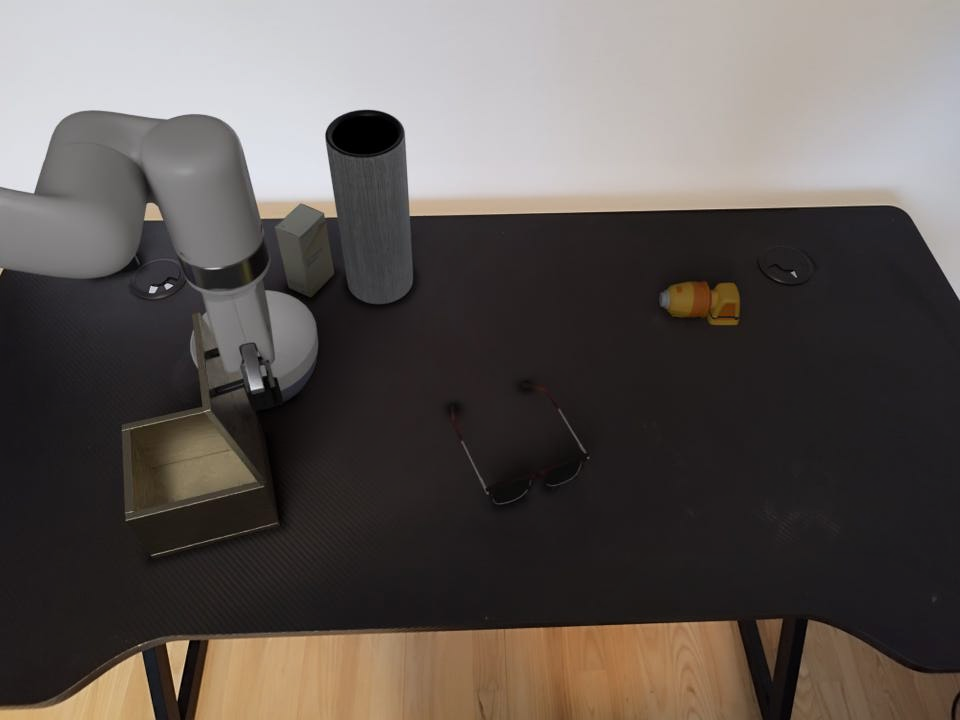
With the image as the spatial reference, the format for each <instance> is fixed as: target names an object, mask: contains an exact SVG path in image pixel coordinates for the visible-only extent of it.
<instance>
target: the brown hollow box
mask: <svg viewBox="0 0 960 720" xmlns="http://www.w3.org/2000/svg"><path fill="white" fill-rule="evenodd" d="M256 411H257V410H256ZM256 411H255V412H256ZM256 418H257V424H258V430H259V436H260V442H261V448H262V455H263V461H264V467H265V473H266V479H267V483H265V484H262V485H260V484H259V483H258V481H257V480H256V479H255V477H254V476H253V475H252V474H251V472H250V471H249V470H248V469H247V467H246V466H245V465H244V463H243V462H242V461H241V460H240V458H239V457H238V456H237V455H236V453H235V452H234V451H233V449H232V448H231V447H230V446H229V444H228V443H227V442H226V441H225V439H224V438H223V437H222V435H221V434H220V433H219V432H218V430H217V429H216V428H215V426H214V425H213V424H212V423H211V421H210V420H209V419H208V418H207V416H206V415H205V414H204V412H203V406H199V407H195V408H190V409H185V410H182V411H177V412H171V413H168V414H164V415H159V416H155V417H150V418H145V419H141V420H136V421H131V422H127V423H123V424H121V443H122V444H121V445H122V470H123V497H124V498H123V499H124V516H125V517H124V518H125V522H126V523H127V525H128V526H129V528H130V529H131V531H132V532H133V533H134V535H135V536H136V537H137V539H138V540H139V542H140V543H141V544H142V546H143V547H144V548H145V550H146V551H147V552H148V554H149V555H150V557H151V558H152V559H157V558H162V557H166V556H169V555H173V554H177V553H181V552H184V551H189V550H192V549H197V548H201V547H204V546H209V545H212V544H216V543H219V542H224V541H228V540H231V539H236V538H239V537H243V536H246V535H247V536H248V535H251V534H255V533H258V532H262V531H267V530H271V529H274V528H278V527H280V526H281V523H280V517H279V512H278V508H277V506H278V505H277V499H276V494H275V488H274V482H273V475H272V470H271V464H270V459H269V453H268V452H269V451H268V446H267V440H266V438H265V434H264V431H263V429H262V426H261V423H260V420H259V417H258V415H257V412H256Z"/></svg>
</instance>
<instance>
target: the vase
mask: <svg viewBox="0 0 960 720" xmlns="http://www.w3.org/2000/svg"><path fill="white" fill-rule="evenodd" d="M324 138H325V147H326V152H327V158H328V159H327V160H328V166H329V173H330V179H331V185H332V193H333V199H334V205H335V212H336V218H337V223H338V224H337V226H338V230H339V238H340V245H341V252H342V257H343V263H344V270H345V271H344V272H345V277H346V282H347V287H348V289H349V291H350V293H351V295H353V296H354V297H355V298H357V299H358V300H359V301H362V302H364V303H367V304H373V305H387V304H390V303H393V302H396V301H398V300H400V299H402V298H404V296H406V295H407V294H408V293H409V291H410V290H411V288H412V286H413V282H414V267H413V265H414V263H413V250H412V231H411V216H410V215H411V214H410V198H409V197H410V196H409V195H410V194H409V180H408V179H409V178H408V163H407V162H408V161H407V145H406V144H407V143H406V130H405V127H404V125H403V124H402V122H401V121H400V120H399V119H397V117H395V116H394V115H392V114H390V113H388V112H386V111H381V110H377V109H357V110H350V111H348V112H346V113H343V114H340V115H339V116H338V117H335V118H334V119H333V120H332V121H331V122H330V123H329V124H328V125H327V127H326V129H325V133H324Z"/></svg>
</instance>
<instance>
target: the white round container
mask: <svg viewBox="0 0 960 720" xmlns="http://www.w3.org/2000/svg"><path fill="white" fill-rule="evenodd" d="M265 293H266V298H267V302H268V308H269V314H270V320H271V327H272V335H273V343H274V352H275V361H274V362H273V363H272V364H271V369H272V373H273V377H277V380H278V383H279V387H280V390H281V394H282V397H283V402H284V403H285V402H287V401H289V400H291V399H292V398H293V397H294V396H296V395H297V394H298V393H300V391H301V390H302V389H303V388H304V387H305V386H306V384H307V383H308V381H309V380H310V379H311V377H312V375H313V373H314V370H315V369H316V365H317V359H318V353H319V352H318V351H319V350H318V349H319V337H318V336H319V335H318V329H317V321H316V320H315V317H314V315H313V313H312V312H311V310H310V309H309V308H308V306H307V305H306V304H304V302H302V301H301V300H300V299H298V298H297V297H294V296H292V295H291V294H287V293H284V292H281V291H276V290H269V289H265ZM201 316H202V317H203V319H204V320H205V322H206V323H207V325H208V326H209V328H210V329H211V331H212V328H211V325H210V322H209V318H208V315H207V312H206V311H205V312H204V313H203V314H202V315H201ZM212 333H213V331H212ZM189 348H190V349H189V350H190V355H191V358H192V361H193V363H194V365H195V367H196V368H197V369H198V363H197V354H196V346H195V337H194V329H193V330H192V333H191V337H190V341H189ZM259 356H260V355H259V353H258V357H259ZM260 368H261V373H262V376H267V374H266V370H265V366H264V365H262V366H260ZM239 373H240V375H241V376H242V373H241V369H239ZM242 378H243V376H242Z"/></svg>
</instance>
